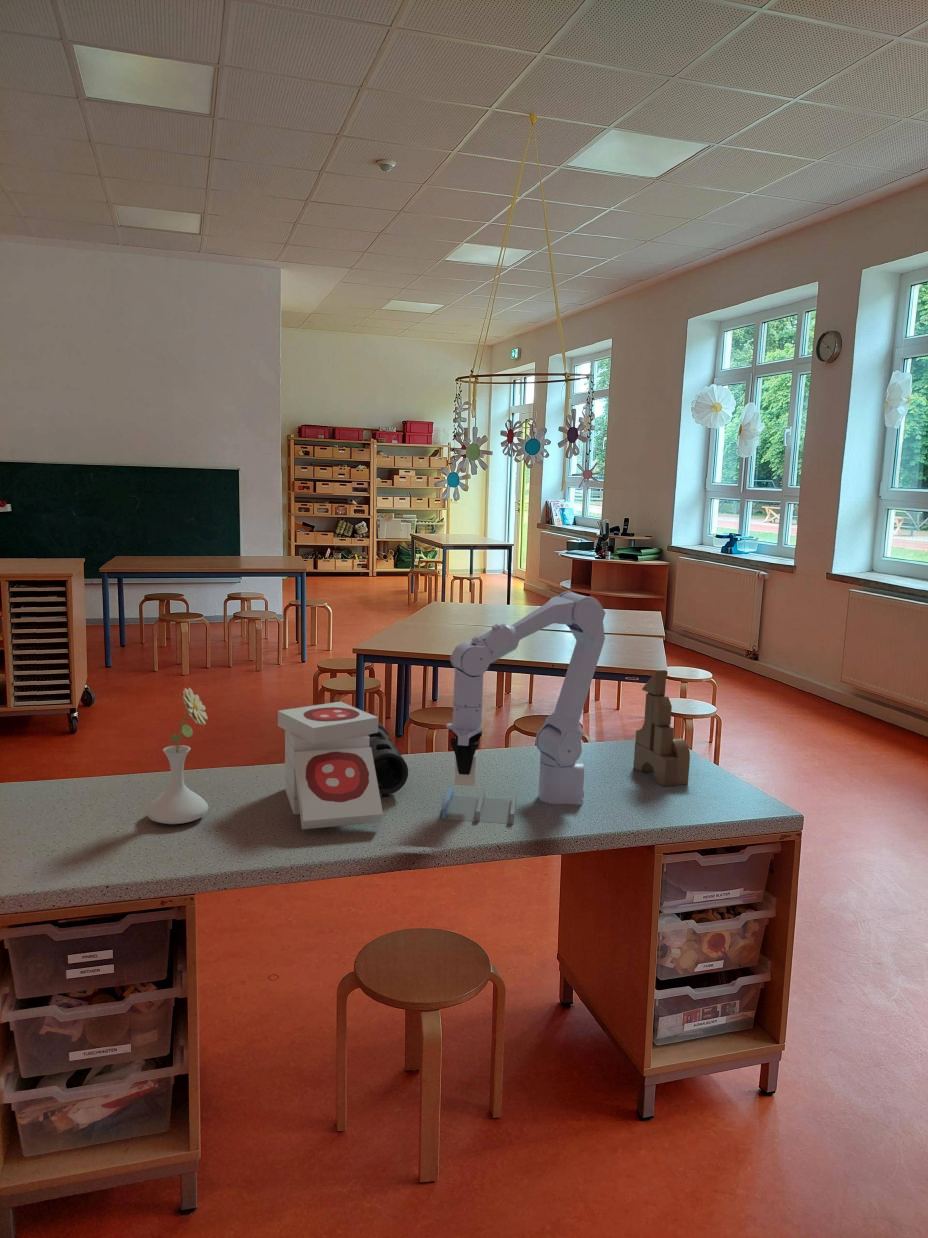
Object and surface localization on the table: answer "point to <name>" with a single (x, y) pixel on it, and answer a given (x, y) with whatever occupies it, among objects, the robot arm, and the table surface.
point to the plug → (467, 779)
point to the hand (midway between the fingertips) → (465, 770)
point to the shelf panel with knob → (479, 808)
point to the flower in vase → (180, 775)
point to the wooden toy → (660, 738)
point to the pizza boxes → (330, 765)
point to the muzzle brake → (387, 763)
